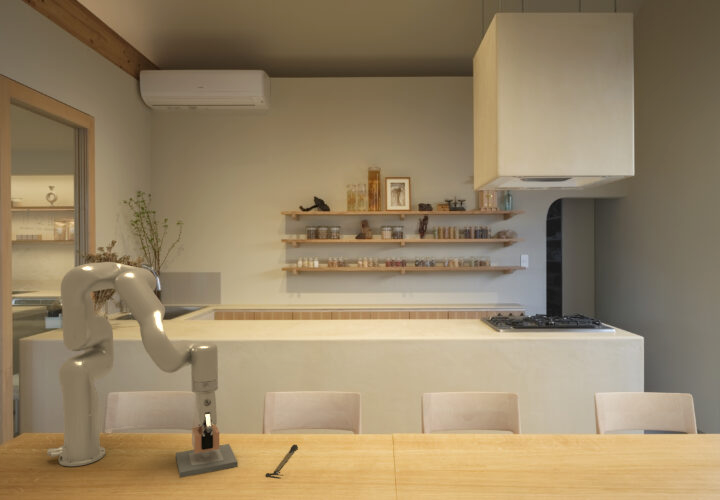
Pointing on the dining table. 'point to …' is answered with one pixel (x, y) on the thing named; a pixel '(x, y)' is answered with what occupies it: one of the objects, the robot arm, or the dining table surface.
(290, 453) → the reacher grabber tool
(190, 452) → the post board
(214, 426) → the collar
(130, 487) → the dining table surface
